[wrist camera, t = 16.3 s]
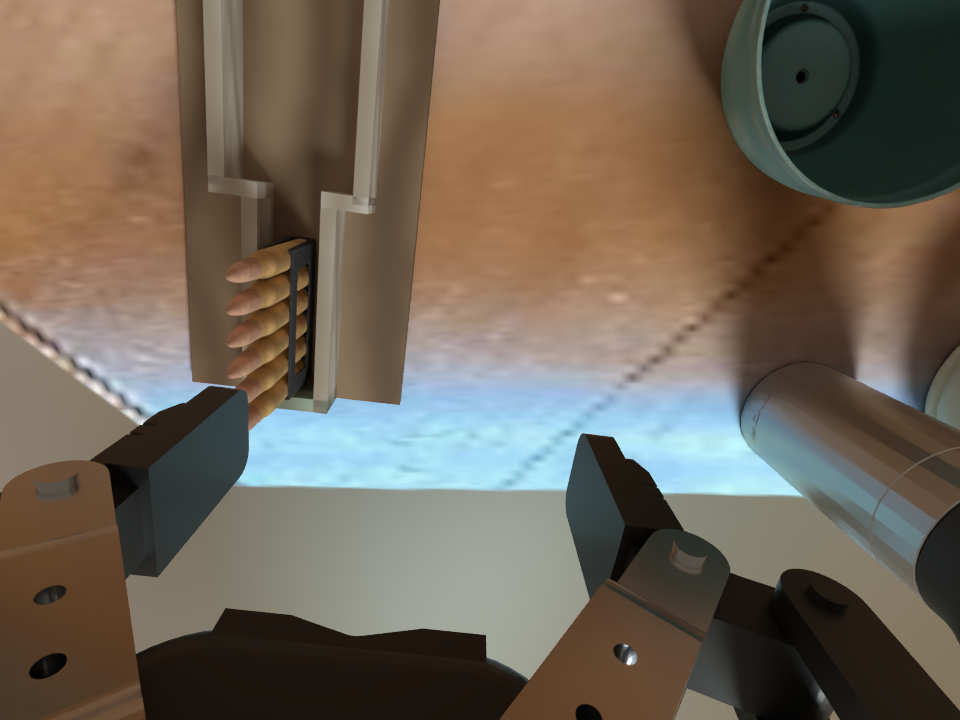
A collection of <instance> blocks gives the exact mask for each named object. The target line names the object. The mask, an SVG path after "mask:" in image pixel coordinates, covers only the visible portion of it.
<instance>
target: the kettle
mask: <svg viewBox="0 0 960 720" xmlns="http://www.w3.org/2000/svg"><path fill="white" fill-rule="evenodd" d="M924 413H925V414H927V415H929V416H931V417H934V418H936V419H938V420H940V421H942V422H944V423H946V424H948V425H950V426H952V427H954V428H957V429H959V430H960V345H959V346H958V347H957V348H956V349H955V350H954V351H953V352H952V353H951V355H950V356H949V357H948V358H947V359H946V361H945V362H944V363H943V365H942V366H941V367H940V369H939V370H938V372H937V374H936V376H935V377H934V379H933V381H932V384H931V386H930V388H929V391H928V394H927V398H926V403H925V412H924Z"/></svg>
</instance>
